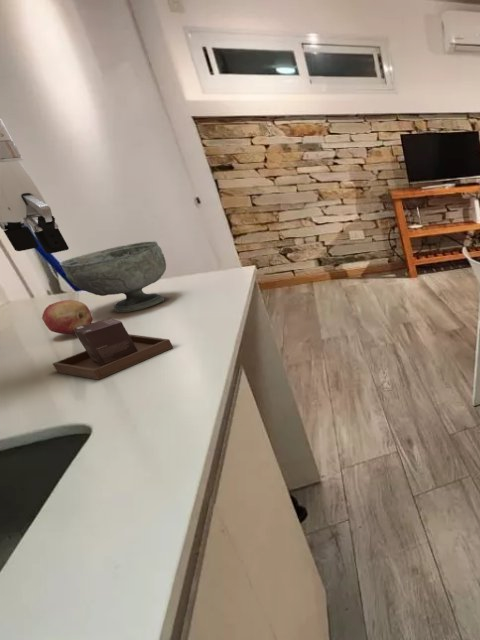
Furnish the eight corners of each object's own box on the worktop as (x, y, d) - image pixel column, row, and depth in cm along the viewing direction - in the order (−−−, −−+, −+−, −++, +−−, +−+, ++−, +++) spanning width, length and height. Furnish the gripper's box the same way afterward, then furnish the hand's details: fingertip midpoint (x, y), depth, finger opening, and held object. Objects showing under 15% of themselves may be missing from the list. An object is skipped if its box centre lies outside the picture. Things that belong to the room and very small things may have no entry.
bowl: (115, 299, 133) (86, 247, 126) (195, 287, 138) (171, 237, 131) (69, 326, 116) (32, 268, 109) (161, 312, 121) (132, 255, 114)
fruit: (66, 342, 107) (46, 309, 103) (46, 339, 109) (25, 307, 106) (107, 327, 114) (89, 296, 110) (86, 325, 116) (68, 294, 112)
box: (140, 353, 98) (122, 321, 94) (102, 367, 93) (82, 333, 90) (128, 348, 100) (111, 316, 97) (91, 361, 96) (71, 328, 93)
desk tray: (99, 379, 89) (93, 370, 88) (57, 372, 93) (51, 363, 92) (173, 347, 100) (169, 339, 99) (133, 342, 104) (129, 334, 104)
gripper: (-71, 157, 81) (-11, 254, 89) (-17, 155, 76) (43, 258, 83) (-10, 152, 87) (42, 243, 95) (44, 150, 82) (95, 247, 90)
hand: (42, 250), depth 89 cm, fingers open, 9 cm apart
